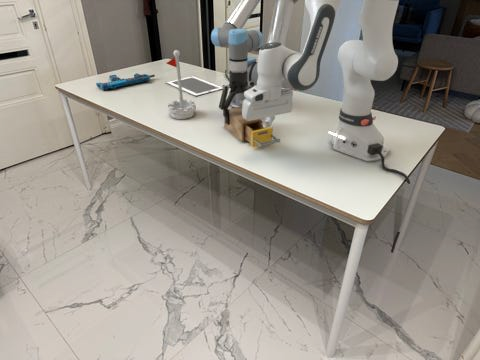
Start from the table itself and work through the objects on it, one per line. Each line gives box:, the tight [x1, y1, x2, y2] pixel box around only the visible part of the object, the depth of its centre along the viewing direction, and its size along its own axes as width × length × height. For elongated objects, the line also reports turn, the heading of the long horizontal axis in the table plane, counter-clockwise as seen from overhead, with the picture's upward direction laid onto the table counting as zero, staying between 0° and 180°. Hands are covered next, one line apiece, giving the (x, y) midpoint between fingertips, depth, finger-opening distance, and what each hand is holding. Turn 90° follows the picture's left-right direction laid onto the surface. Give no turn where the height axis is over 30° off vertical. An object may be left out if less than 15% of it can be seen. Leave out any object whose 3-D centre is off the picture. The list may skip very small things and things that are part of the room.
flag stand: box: [165, 49, 197, 120], centre depth 157 cm, size 13×13×30 cm
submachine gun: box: [95, 73, 156, 91], centre depth 209 cm, size 34×4×25 cm
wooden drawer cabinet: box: [223, 106, 263, 143], centre depth 146 cm, size 17×10×8 cm, turn 28°
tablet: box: [165, 75, 223, 97], centre depth 203 cm, size 32×20×1 cm, turn 41°
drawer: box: [244, 122, 281, 148], centre depth 138 cm, size 22×9×6 cm, turn 28°
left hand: (238, 121), depth 150 cm, fingers closed on wooden drawer cabinet, 10 cm apart
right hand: (267, 126), depth 129 cm, fingers closed
